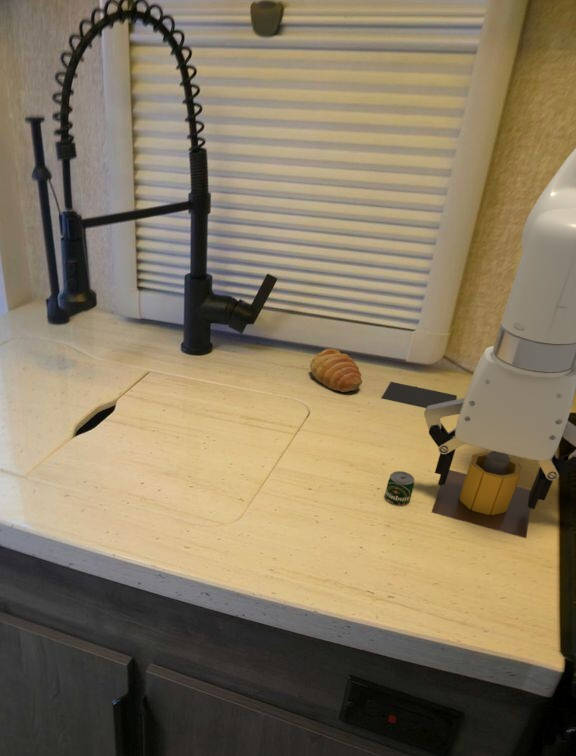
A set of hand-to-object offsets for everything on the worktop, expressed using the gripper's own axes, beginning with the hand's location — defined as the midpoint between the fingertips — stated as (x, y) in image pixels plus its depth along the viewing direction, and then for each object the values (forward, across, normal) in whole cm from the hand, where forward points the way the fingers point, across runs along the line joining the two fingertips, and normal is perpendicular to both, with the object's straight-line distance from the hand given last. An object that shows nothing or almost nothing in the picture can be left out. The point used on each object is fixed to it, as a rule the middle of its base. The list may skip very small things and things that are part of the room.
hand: (486, 490), depth 75 cm
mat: (+3, +12, -25) cm, 28 cm away
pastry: (+3, +25, -26) cm, 36 cm away
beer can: (+3, +9, +4) cm, 10 cm away
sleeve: (+2, 0, 0) cm, 2 cm away
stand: (+3, 0, 0) cm, 3 cm away
